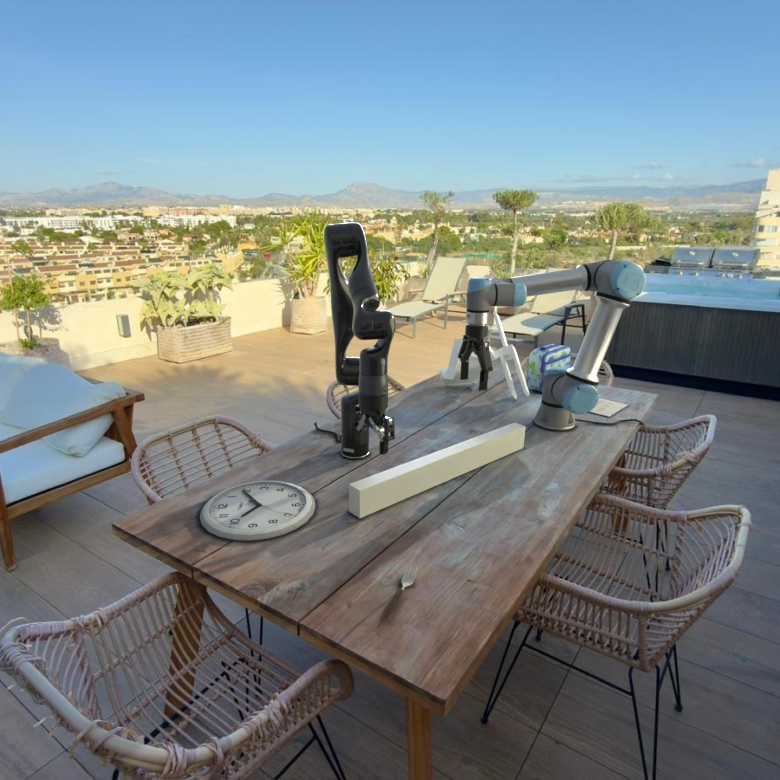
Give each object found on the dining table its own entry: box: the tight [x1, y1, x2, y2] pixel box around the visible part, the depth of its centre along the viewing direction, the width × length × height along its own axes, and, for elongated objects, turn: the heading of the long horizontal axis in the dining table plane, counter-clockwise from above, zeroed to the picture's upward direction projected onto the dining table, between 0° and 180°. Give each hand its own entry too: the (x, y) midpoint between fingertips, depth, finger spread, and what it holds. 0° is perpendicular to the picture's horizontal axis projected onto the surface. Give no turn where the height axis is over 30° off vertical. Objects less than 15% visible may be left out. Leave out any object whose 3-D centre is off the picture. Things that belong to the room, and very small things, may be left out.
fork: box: [386, 563, 418, 620], centre depth 108 cm, size 3×16×2 cm, turn 160°
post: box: [348, 422, 526, 519], centre depth 160 cm, size 72×5×8 cm, turn 131°
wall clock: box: [199, 480, 316, 542], centre depth 140 cm, size 30×2×30 cm
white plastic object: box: [438, 310, 531, 400], centre depth 245 cm, size 37×45×31 cm
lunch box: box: [526, 343, 572, 394], centre depth 248 cm, size 26×11×21 cm, turn 135°
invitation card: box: [589, 397, 629, 418], centre depth 226 cm, size 21×1×15 cm
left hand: (372, 448), depth 137 cm, fingers open, 8 cm apart
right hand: (473, 384), depth 182 cm, fingers open, 13 cm apart
